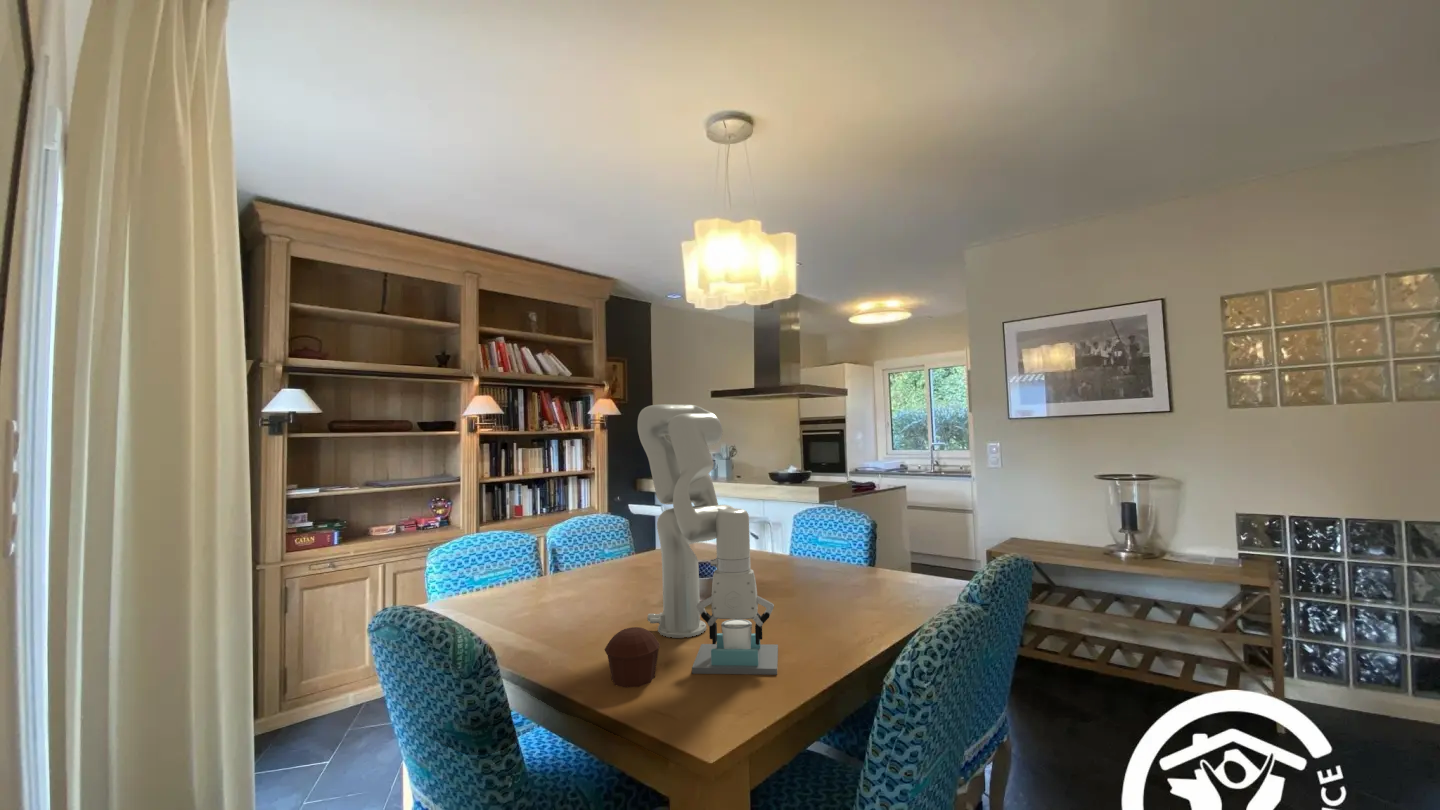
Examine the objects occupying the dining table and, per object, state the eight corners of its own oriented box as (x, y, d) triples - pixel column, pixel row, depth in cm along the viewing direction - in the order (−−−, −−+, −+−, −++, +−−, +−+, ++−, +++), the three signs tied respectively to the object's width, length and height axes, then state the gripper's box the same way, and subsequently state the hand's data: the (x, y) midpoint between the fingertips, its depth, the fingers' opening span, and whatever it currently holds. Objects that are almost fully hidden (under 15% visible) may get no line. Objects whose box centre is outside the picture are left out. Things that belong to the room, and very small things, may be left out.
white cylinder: (754, 660, 125) (752, 627, 126) (722, 661, 125) (721, 628, 126) (752, 649, 132) (750, 617, 133) (722, 650, 132) (721, 619, 133)
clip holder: (692, 673, 123) (691, 653, 123) (701, 649, 137) (701, 631, 137) (777, 674, 121) (776, 654, 121) (778, 649, 135) (777, 631, 135)
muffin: (630, 664, 129) (629, 618, 130) (671, 673, 123) (669, 625, 124) (593, 684, 119) (592, 635, 119) (636, 695, 113) (634, 643, 114)
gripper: (693, 568, 127) (695, 648, 126) (771, 568, 125) (774, 649, 124) (698, 561, 134) (700, 636, 134) (772, 560, 133) (775, 636, 132)
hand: (736, 642), depth 129 cm, fingers open, 9 cm apart
